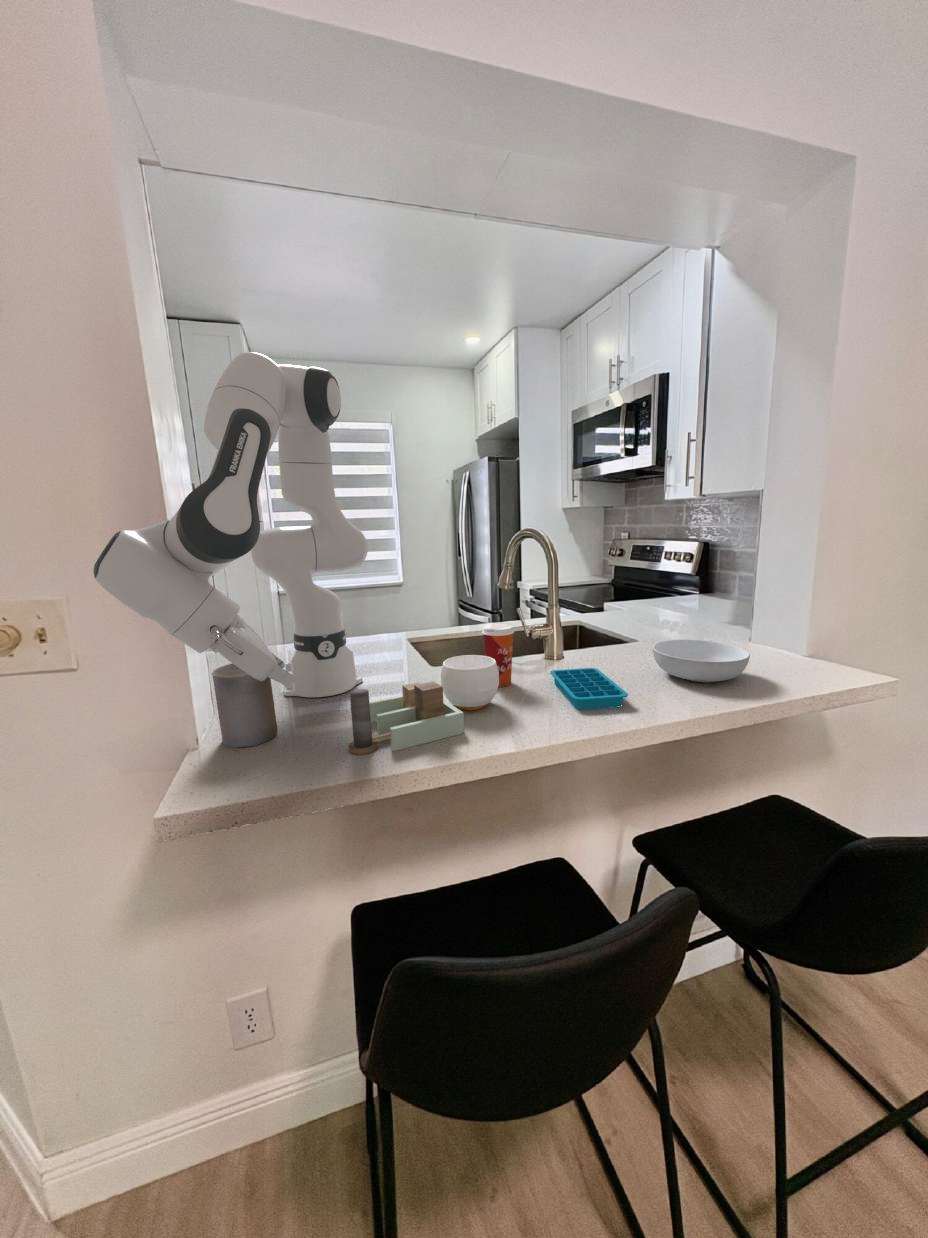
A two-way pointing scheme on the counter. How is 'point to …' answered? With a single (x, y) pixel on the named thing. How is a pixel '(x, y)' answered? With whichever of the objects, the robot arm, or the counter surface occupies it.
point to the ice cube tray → (588, 688)
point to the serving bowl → (700, 659)
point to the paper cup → (500, 649)
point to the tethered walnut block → (364, 743)
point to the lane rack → (413, 723)
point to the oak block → (409, 695)
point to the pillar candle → (244, 707)
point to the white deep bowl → (470, 680)
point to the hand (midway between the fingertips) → (286, 674)
